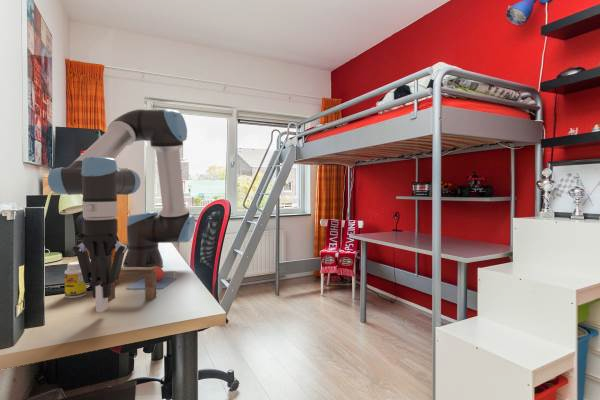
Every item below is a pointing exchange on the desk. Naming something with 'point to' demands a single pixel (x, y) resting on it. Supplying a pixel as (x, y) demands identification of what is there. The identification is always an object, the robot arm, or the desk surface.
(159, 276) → the ball
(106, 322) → the desk surface
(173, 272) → the stopper wall
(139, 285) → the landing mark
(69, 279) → the supplement bottle
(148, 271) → the bridge
